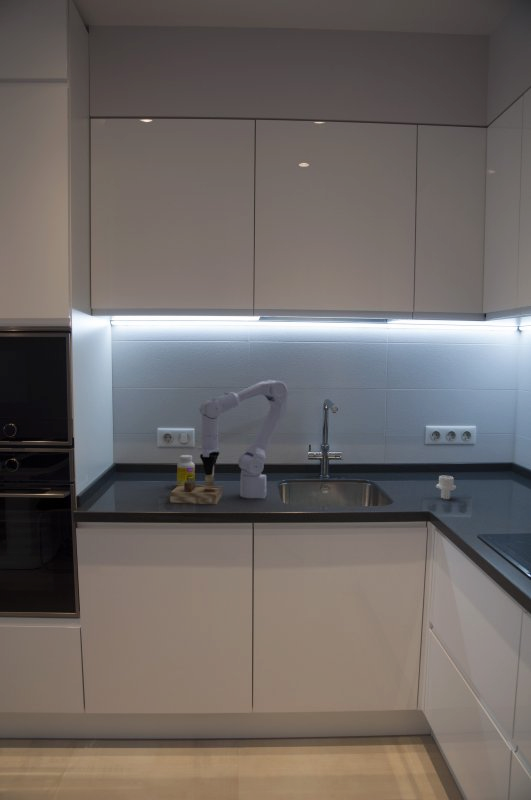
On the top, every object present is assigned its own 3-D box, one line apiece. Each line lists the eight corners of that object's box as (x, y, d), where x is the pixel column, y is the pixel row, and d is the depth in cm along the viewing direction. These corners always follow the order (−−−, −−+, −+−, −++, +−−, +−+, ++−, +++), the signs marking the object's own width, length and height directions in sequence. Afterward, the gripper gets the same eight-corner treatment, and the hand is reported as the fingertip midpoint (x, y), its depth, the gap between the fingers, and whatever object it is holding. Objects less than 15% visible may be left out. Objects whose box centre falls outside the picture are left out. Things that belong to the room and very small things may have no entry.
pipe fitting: (434, 495, 208) (435, 474, 208) (453, 496, 207) (454, 475, 207) (436, 499, 202) (437, 478, 202) (456, 500, 201) (458, 479, 200)
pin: (214, 484, 193) (214, 464, 192) (212, 486, 190) (213, 466, 189) (206, 483, 193) (206, 464, 192) (204, 485, 190) (204, 465, 190)
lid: (221, 490, 196) (221, 479, 195) (216, 497, 187) (217, 485, 186) (177, 488, 197) (177, 477, 197) (170, 495, 188) (171, 483, 188)
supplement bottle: (186, 492, 205) (187, 458, 204) (173, 489, 209) (173, 456, 208) (198, 488, 211) (198, 455, 210) (184, 486, 214) (185, 453, 213)
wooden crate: (221, 498, 197) (222, 486, 197) (216, 507, 186) (216, 494, 186) (178, 496, 198) (178, 484, 198) (170, 504, 188) (170, 492, 187)
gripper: (203, 431, 198) (202, 468, 199) (194, 437, 183) (193, 477, 184) (222, 432, 197) (221, 469, 198) (214, 438, 183) (214, 478, 184)
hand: (209, 473), depth 191 cm, fingers closed on pin, 3 cm apart
